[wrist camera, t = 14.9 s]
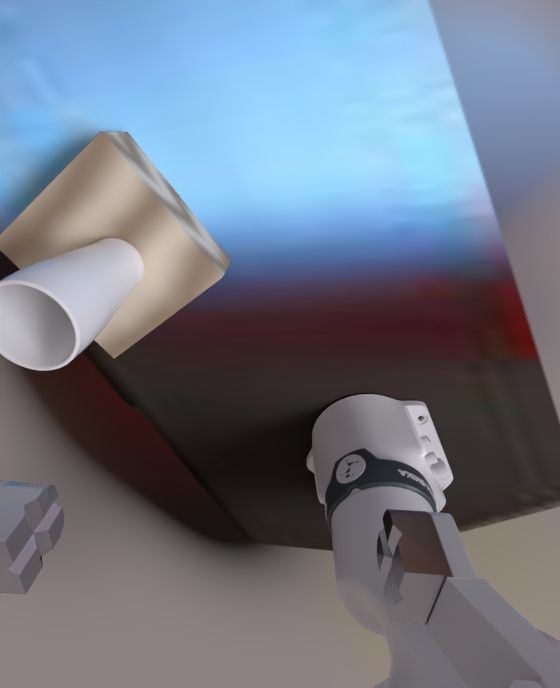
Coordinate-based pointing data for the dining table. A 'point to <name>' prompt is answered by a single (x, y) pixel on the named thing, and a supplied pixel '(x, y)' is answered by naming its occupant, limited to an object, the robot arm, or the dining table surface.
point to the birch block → (121, 232)
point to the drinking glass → (65, 302)
